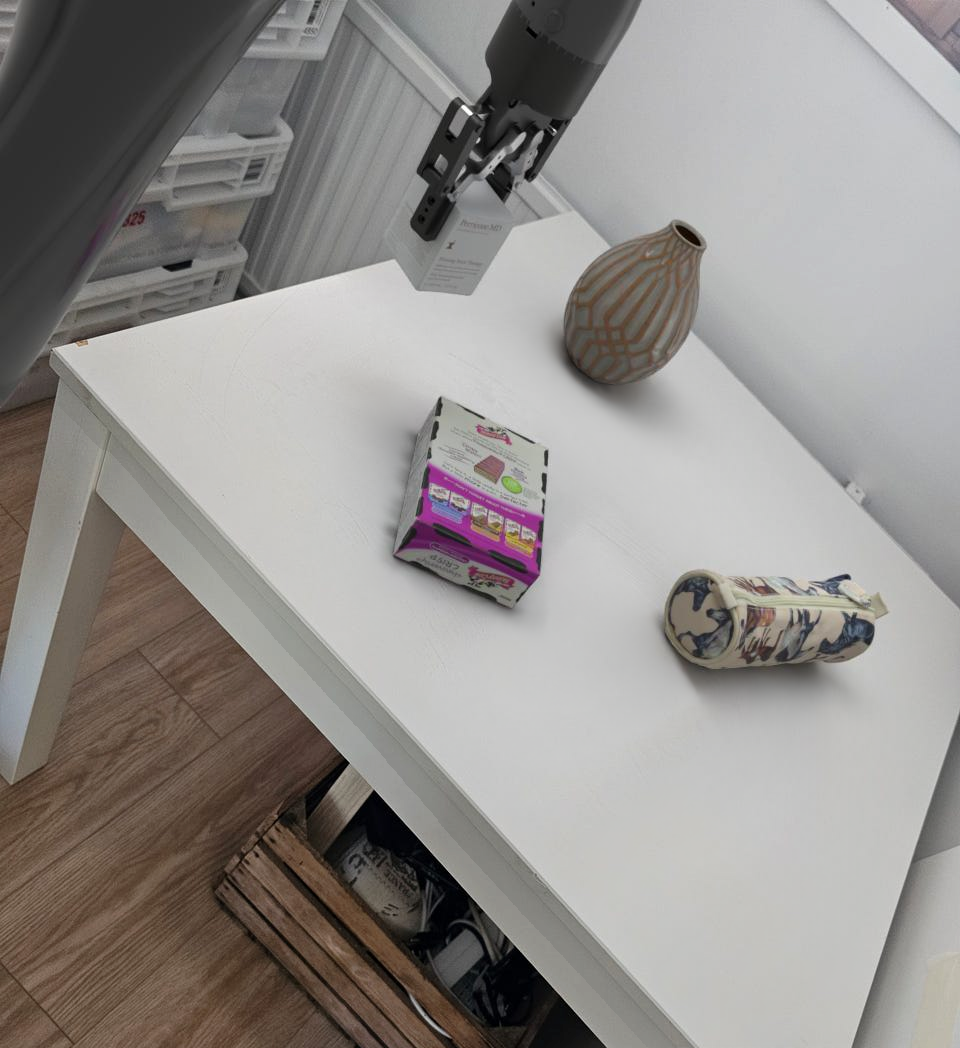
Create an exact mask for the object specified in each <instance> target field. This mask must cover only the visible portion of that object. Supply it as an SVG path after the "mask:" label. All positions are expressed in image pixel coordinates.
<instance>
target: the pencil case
mask: <svg viewBox="0 0 960 1048" xmlns="http://www.w3.org/2000/svg"><path fill="white" fill-rule="evenodd" d="M890 612H891V611H890V609H889V606H888V605H887V603H886V601H885V599H884V597H883V595H882V594H881V592H880V591H877V592H875V594H873V595H870V596H869V594H868V593H867V592H866V591H865V590H864V589H863V588H862V587H861V586H859V585H858V584H857V583H856V582H854V581H852V577H851V575H850V574H849V573H844V574H839V575H836V576H832V577H829V578H826V579H823V580H819V581H816V580H815V581H814V580H813V581H812V580H810V581H805V580H801V579H797V578H791V577H784V576H781V577H780V576H723V575H722V574H720V573H718V572H716V571H713V570H709V569H705V568H699V569H698V568H697V569H693V570H689V571H687V572H685V573H683V574H682V575H681V576H679V577H678V579H676V581H675V582H674V584H673V585H672V587H671V589H670V591H669V593H668V596H667V597H666V600H665V604H664V611H663V628H664V633H665V634H666V636H667V638H668V639H669V641H670V643H671V644H672V646H673V647H674V648H675V649H676V651H677V652H678V653H679V654H680V655H681V656H682V657H683V658H684V659H686V660H687V661H688V662H691V663H692V664H695V665H697V666H702V667H705V668H707V669H711V670H720V669H723V670H724V669H738V668H744V667H771V666H776V665H782V664H803V663H804V664H805V663H811V662H824V663H827V664H839V663H844V662H848V661H850V660H853V659H855V658H856V657H859V656H861V655H863V654H864V653H865V652H866V651H867V650H868V649H869V648H870V647H871V646H872V644H873V641H874V638H875V634H876V620H878V619H880V618H882V617H884V616H886V615H888V614H889V613H890Z"/></svg>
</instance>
